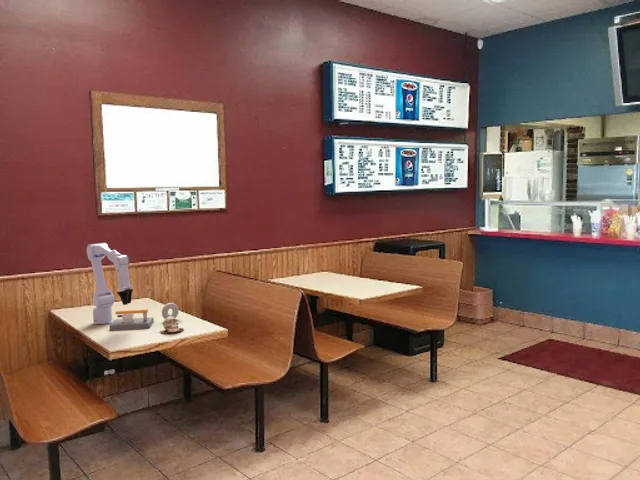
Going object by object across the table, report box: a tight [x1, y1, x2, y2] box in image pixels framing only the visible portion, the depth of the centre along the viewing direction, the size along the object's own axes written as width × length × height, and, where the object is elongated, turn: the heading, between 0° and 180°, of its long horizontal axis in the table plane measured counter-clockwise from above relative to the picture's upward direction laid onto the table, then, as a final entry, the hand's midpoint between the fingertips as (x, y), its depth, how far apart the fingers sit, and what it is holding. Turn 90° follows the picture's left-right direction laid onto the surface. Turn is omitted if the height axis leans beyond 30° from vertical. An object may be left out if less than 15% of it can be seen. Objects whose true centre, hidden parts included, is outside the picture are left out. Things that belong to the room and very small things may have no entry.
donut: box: [161, 302, 180, 320], centre depth 305 cm, size 10×4×10 cm, turn 135°
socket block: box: [109, 312, 155, 331], centre depth 295 cm, size 20×14×7 cm
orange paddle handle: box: [114, 308, 149, 315], centre depth 295 cm, size 16×3×2 cm, turn 97°
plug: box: [116, 313, 135, 323], centre depth 295 cm, size 8×5×6 cm, turn 97°
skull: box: [159, 316, 185, 334], centre depth 282 cm, size 12×10×10 cm
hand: (127, 303), depth 288 cm, fingers open, 7 cm apart
